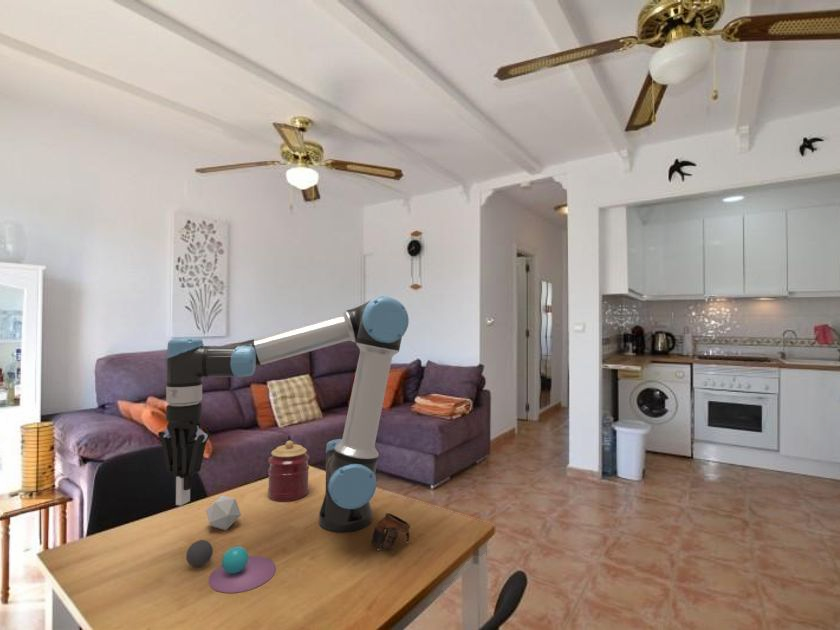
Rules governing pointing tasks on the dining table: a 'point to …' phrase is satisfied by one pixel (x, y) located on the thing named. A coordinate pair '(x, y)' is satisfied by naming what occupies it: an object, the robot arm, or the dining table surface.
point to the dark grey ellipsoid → (199, 553)
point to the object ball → (234, 560)
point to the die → (223, 512)
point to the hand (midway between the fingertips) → (183, 502)
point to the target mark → (243, 576)
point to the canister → (288, 472)
